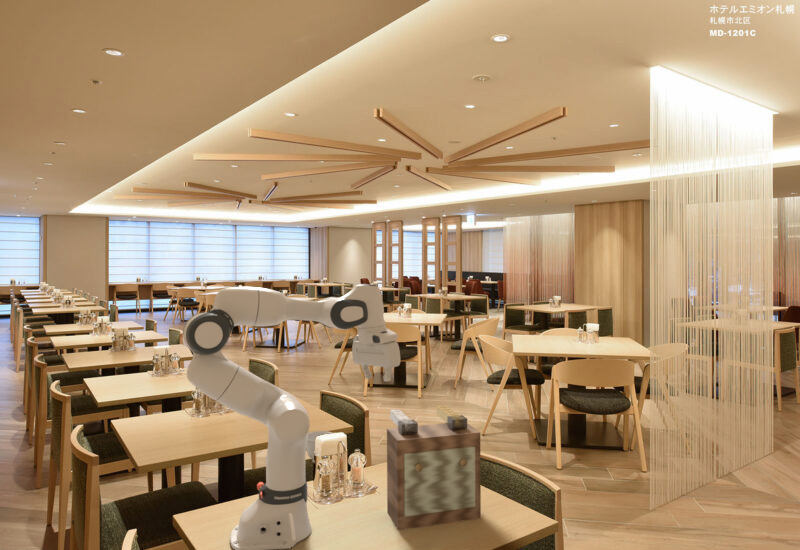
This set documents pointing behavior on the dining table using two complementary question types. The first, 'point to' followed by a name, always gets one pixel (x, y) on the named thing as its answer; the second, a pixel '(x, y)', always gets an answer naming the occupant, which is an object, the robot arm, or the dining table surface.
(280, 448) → the robot arm
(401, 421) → the steel handle
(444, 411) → the brass handle
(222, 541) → the dining table surface
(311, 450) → the teacup
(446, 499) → the wooden box
